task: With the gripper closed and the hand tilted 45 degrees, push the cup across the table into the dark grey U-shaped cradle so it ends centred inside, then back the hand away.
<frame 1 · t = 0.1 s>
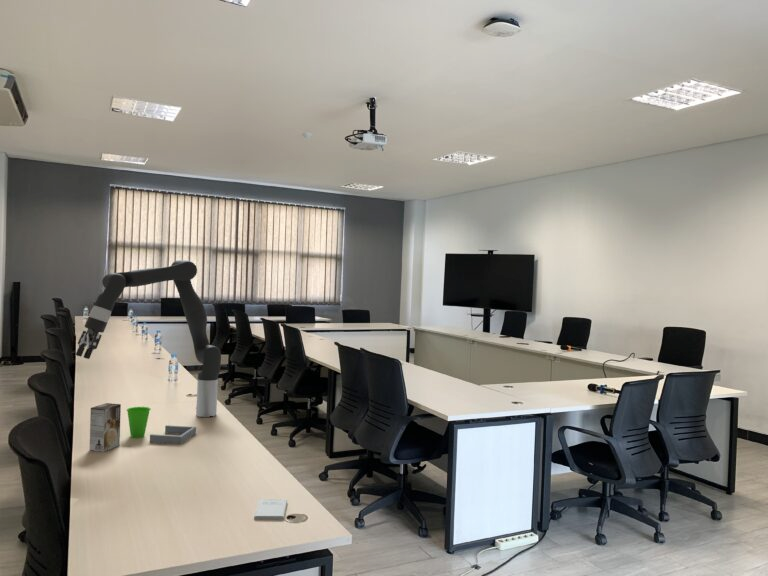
hand: (82, 357, 233), 31 cm above the table, tool tilted 20°, fingers open, 8 cm apart
coffee box: (104, 448, 218), on the table
grey cradle: (171, 438, 235), on the table
cup: (137, 436, 236), on the table
external hard drive: (271, 513, 167), on the table
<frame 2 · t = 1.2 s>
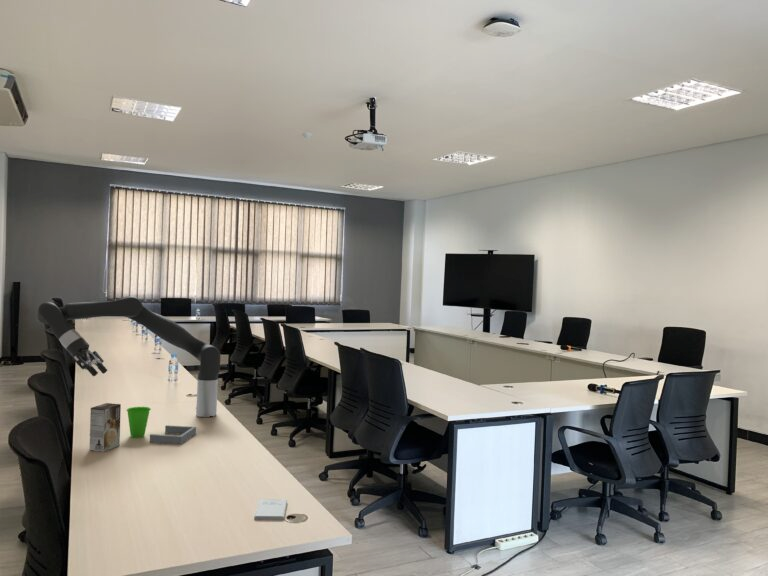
hand: (100, 373, 236), 25 cm above the table, tool tilted 45°, fingers open, 6 cm apart
nothing on the table moved.
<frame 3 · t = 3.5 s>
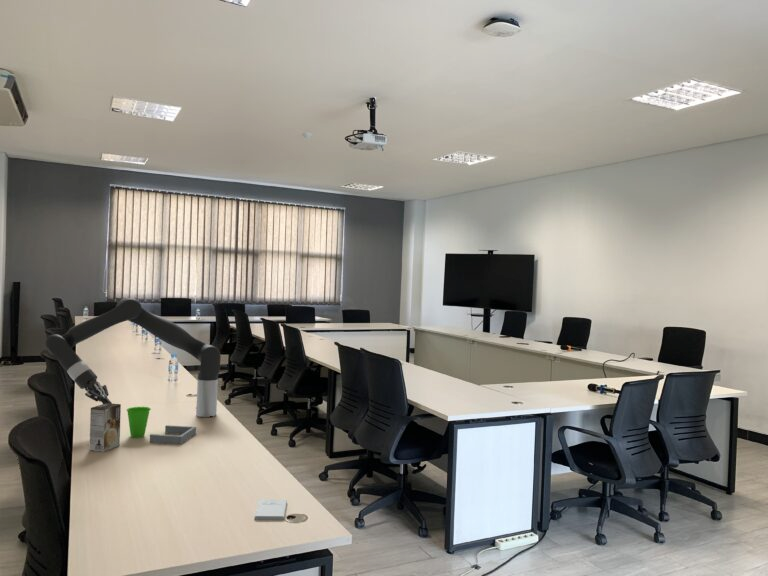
hand: (110, 406, 236), 11 cm above the table, tool tilted 45°, fingers closed
nothing on the table moved.
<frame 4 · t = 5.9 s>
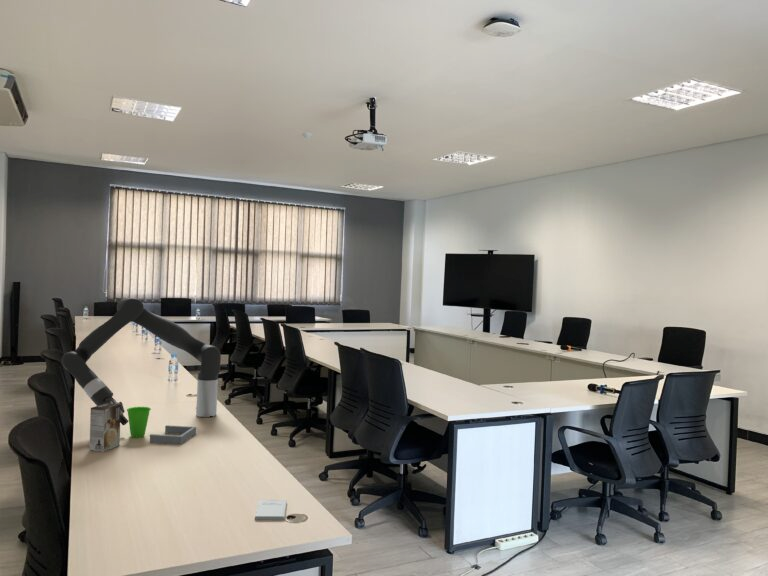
hand: (126, 423, 236), 5 cm above the table, tool tilted 45°, fingers closed
cup: (137, 436, 236), on the table, touching gripper
everything else where it was.
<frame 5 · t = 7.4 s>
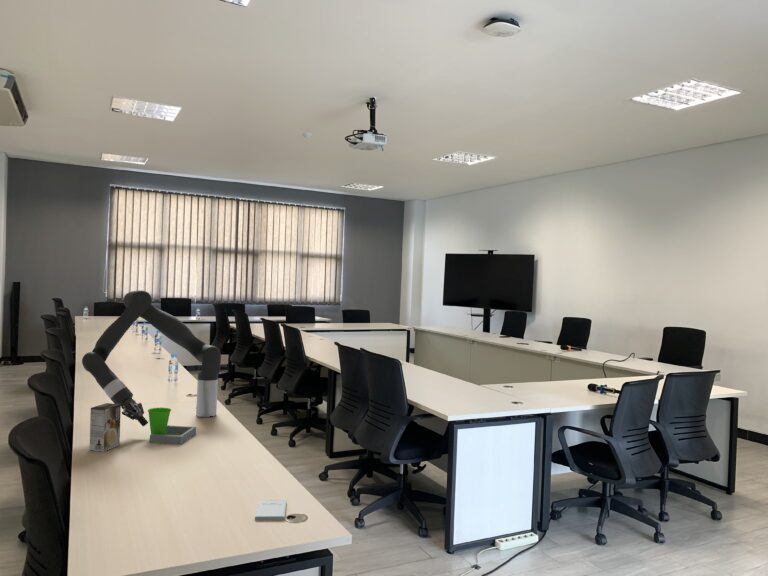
hand: (145, 424, 235), 5 cm above the table, tool tilted 45°, fingers closed
cup: (158, 437, 236), on the table, touching gripper
everything else where it was.
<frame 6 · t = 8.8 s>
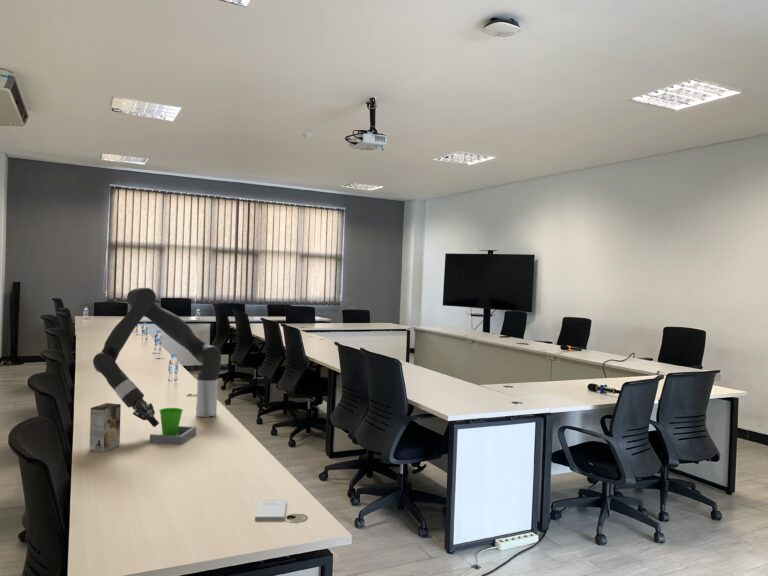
hand: (156, 425, 235), 5 cm above the table, tool tilted 45°, fingers closed
cup: (169, 437, 236), on the table, touching gripper
everything else where it was.
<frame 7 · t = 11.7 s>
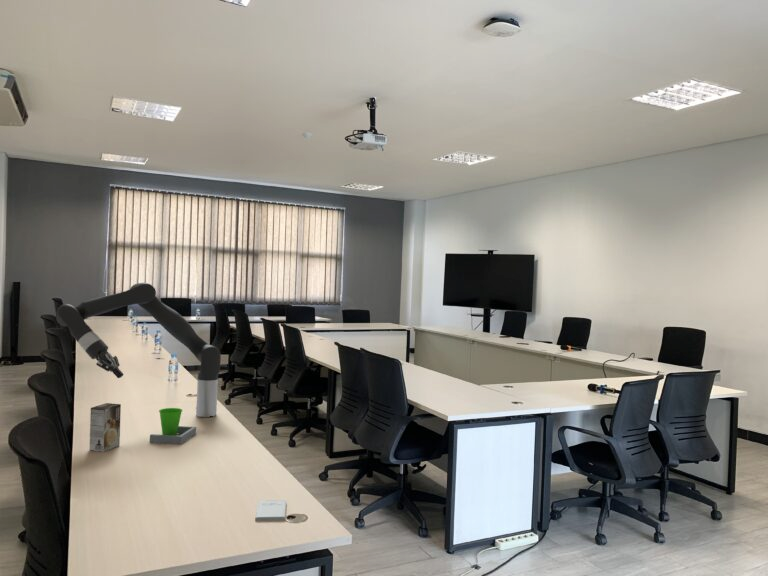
hand: (121, 376, 236), 24 cm above the table, tool tilted 45°, fingers closed
cup: (169, 437, 236), on the table
everything else where it was.
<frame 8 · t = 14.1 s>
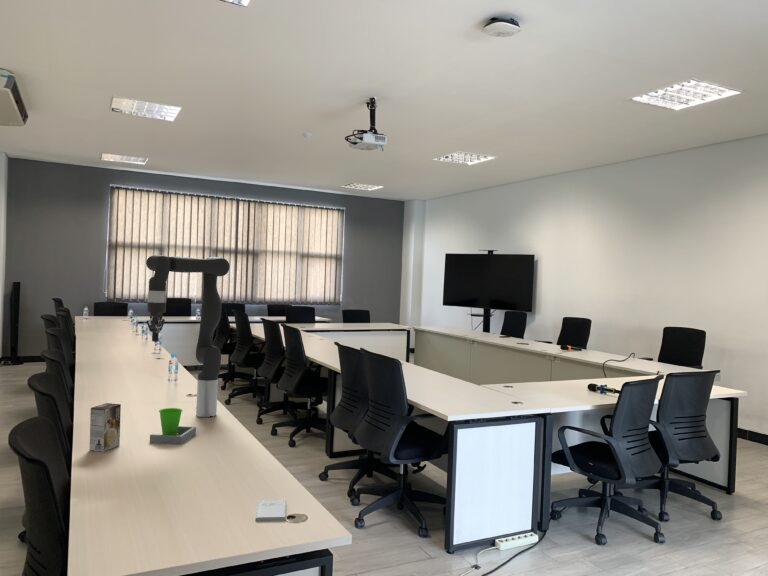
hand: (155, 341, 250), 37 cm above the table, tool pointing down, fingers closed
nothing on the table moved.
at the end: cup inside the target area on the grey cradle (1.1 cm from its centre), point 0.0 cm above the grey cradle's base; cup tilted 0°; cup moved 12.9 cm from its start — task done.
